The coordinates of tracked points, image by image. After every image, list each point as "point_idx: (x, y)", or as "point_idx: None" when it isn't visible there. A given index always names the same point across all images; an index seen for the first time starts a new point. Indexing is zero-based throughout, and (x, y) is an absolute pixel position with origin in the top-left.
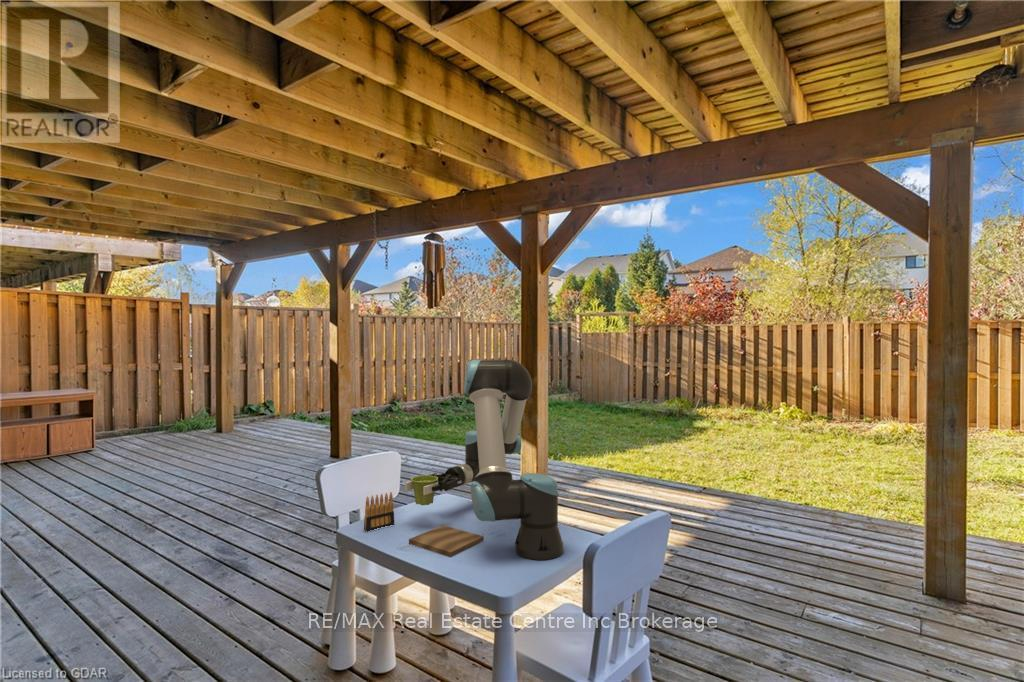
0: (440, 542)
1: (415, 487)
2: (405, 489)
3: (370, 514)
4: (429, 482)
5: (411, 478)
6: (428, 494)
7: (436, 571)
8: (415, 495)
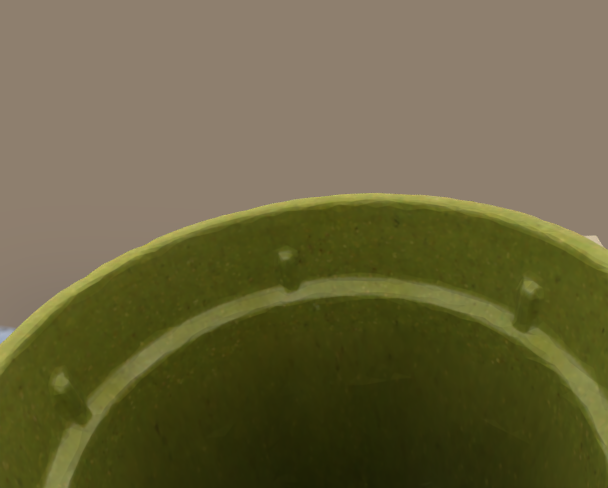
0: None
1: (379, 317)
2: None
3: None
4: (100, 298)
5: (563, 229)
6: (192, 485)
7: (8, 334)
8: (409, 437)
